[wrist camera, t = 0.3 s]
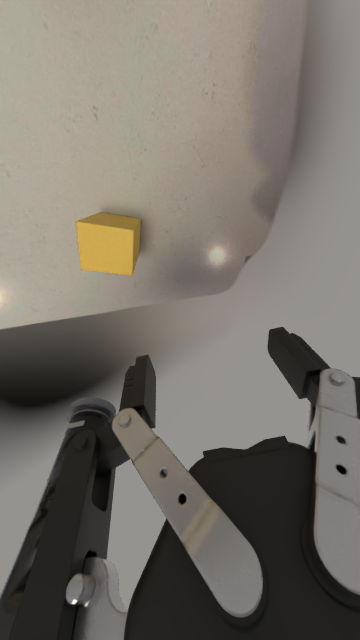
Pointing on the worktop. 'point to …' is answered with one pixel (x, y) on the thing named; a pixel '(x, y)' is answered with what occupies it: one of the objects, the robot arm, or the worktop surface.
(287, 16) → the worktop surface
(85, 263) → the cheese
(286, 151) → the worktop surface
